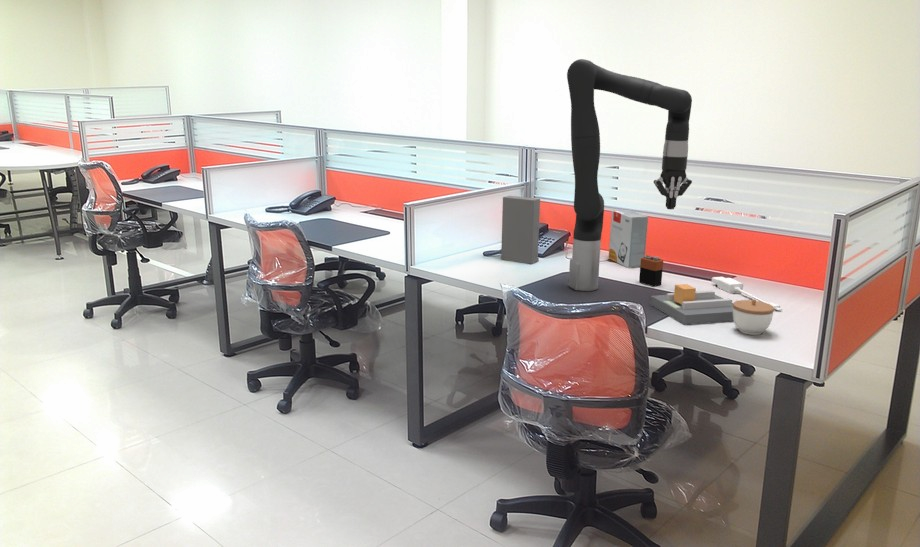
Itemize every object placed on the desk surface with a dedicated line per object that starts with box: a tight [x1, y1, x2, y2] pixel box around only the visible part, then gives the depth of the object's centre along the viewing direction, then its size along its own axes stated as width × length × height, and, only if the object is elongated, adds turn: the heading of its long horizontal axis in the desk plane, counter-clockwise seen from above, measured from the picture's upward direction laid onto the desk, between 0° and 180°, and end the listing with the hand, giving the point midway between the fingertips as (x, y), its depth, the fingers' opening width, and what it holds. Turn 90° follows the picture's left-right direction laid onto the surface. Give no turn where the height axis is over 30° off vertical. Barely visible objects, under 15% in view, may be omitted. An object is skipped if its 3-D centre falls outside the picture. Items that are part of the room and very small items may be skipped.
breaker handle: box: [673, 283, 697, 305], centre depth 216 cm, size 4×5×5 cm
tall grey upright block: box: [500, 195, 541, 265], centre depth 278 cm, size 14×6×25 cm, turn 58°
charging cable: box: [711, 276, 784, 312], centre depth 235 cm, size 5×32×3 cm, turn 16°
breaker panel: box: [650, 290, 734, 326], centre depth 218 cm, size 21×20×5 cm
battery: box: [638, 254, 664, 287], centre depth 249 cm, size 4×7×10 cm, turn 37°
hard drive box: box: [608, 209, 649, 269], centre depth 277 cm, size 16×8×20 cm, turn 17°
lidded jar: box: [732, 298, 775, 336], centre depth 201 cm, size 11×11×9 cm
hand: (670, 209), depth 229 cm, fingers closed
